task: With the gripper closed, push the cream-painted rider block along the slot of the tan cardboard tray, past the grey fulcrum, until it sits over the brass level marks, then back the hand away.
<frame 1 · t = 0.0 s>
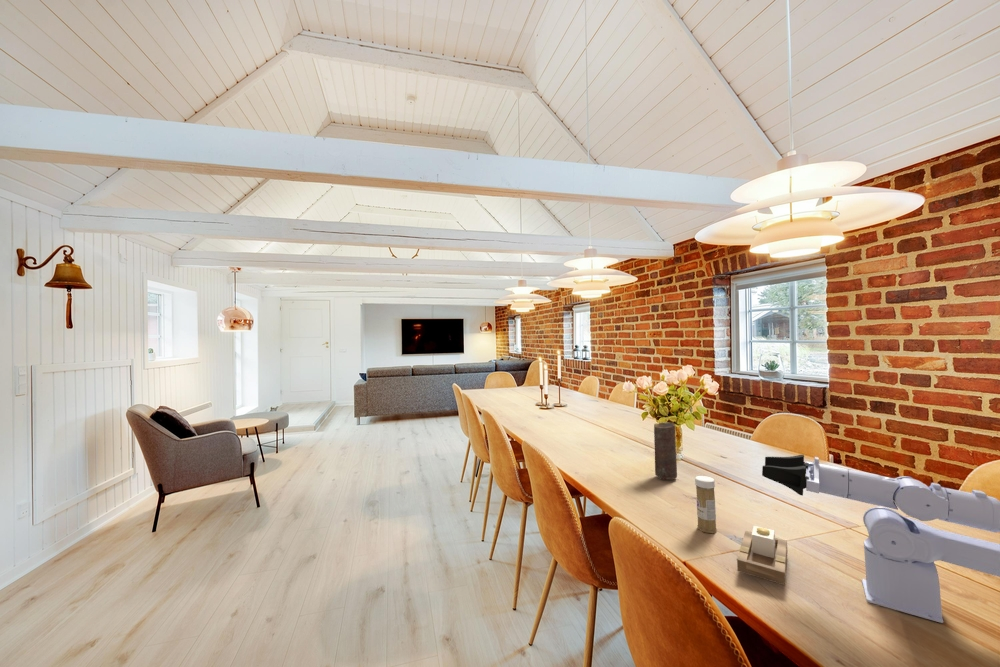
hand: (763, 465, 83), 22 cm above the table, tool horizontal, fingers open, 7 cm apart
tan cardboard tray: (763, 566, 82), on the table
candle: (666, 479, 137), on the table
sprinkles bottle: (707, 530, 99), on the table
rider: (763, 540, 85), point 5 cm above the table, slide at 0.0 cm
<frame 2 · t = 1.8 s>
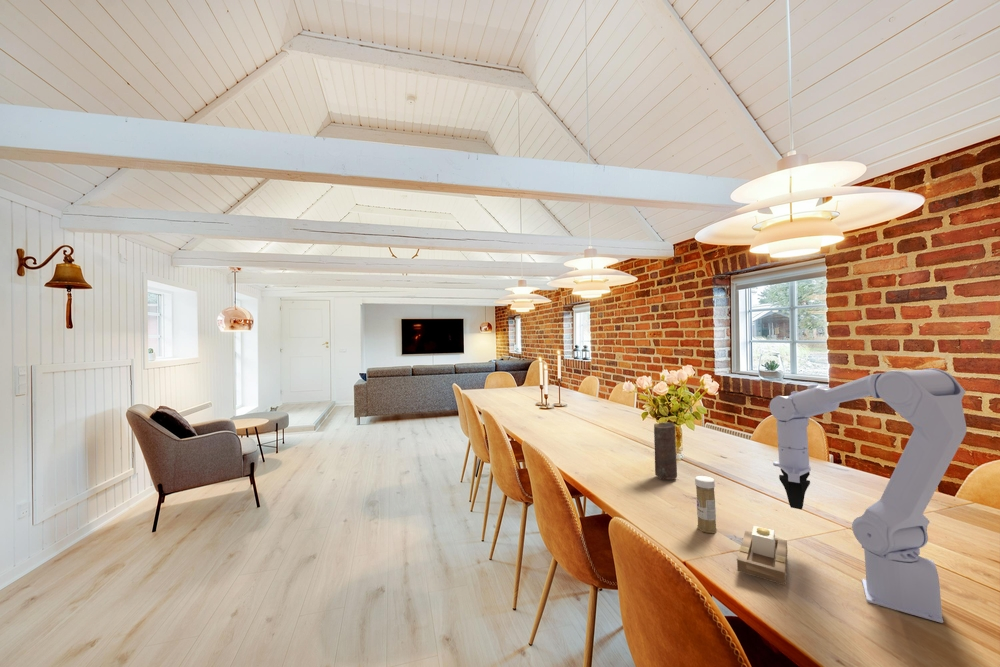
hand: (796, 503, 89), 10 cm above the table, tool pointing down, fingers open, 5 cm apart
nothing on the table moved.
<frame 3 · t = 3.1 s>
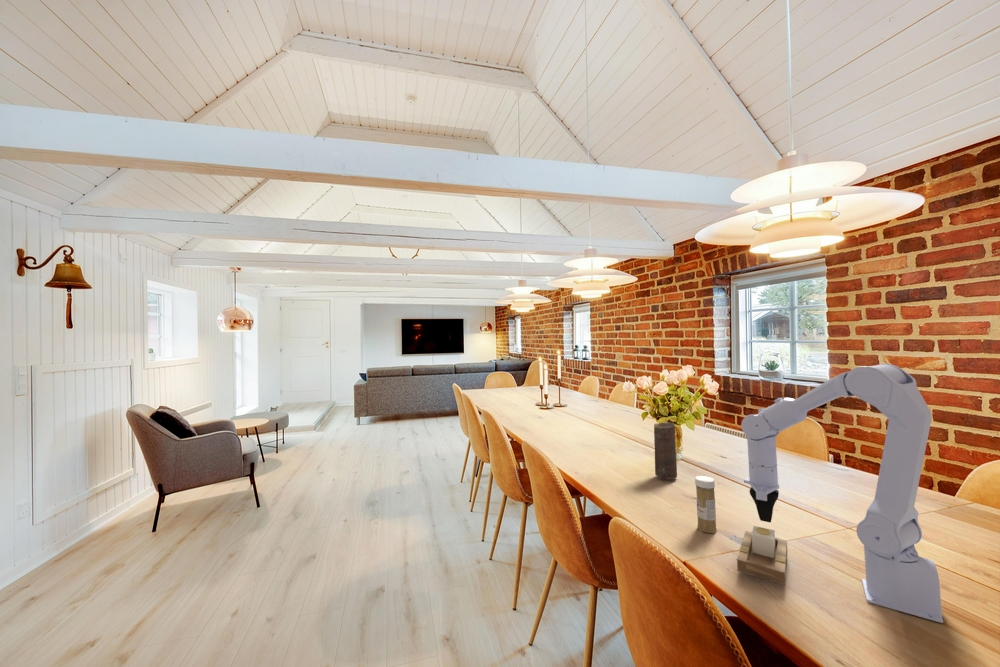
hand: (765, 520, 91), 6 cm above the table, tool pointing down, fingers closed
nothing on the table moved.
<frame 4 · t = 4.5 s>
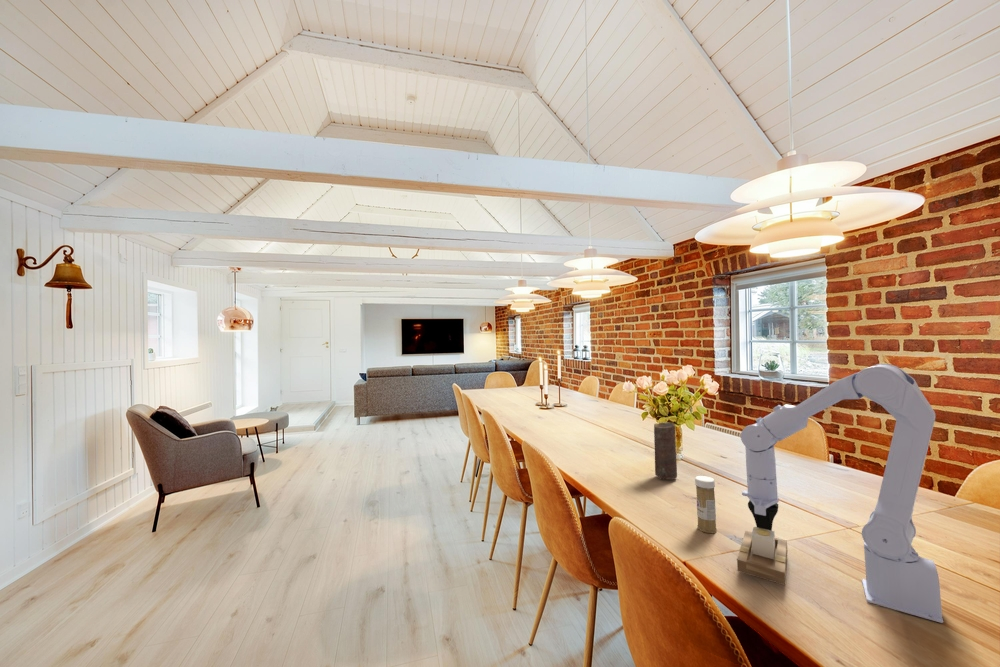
hand: (764, 535, 87), 4 cm above the table, tool pointing down, fingers closed
rider: (763, 541, 84), point 5 cm above the table, slide at 0.5 cm, touching gripper
everything else where it was.
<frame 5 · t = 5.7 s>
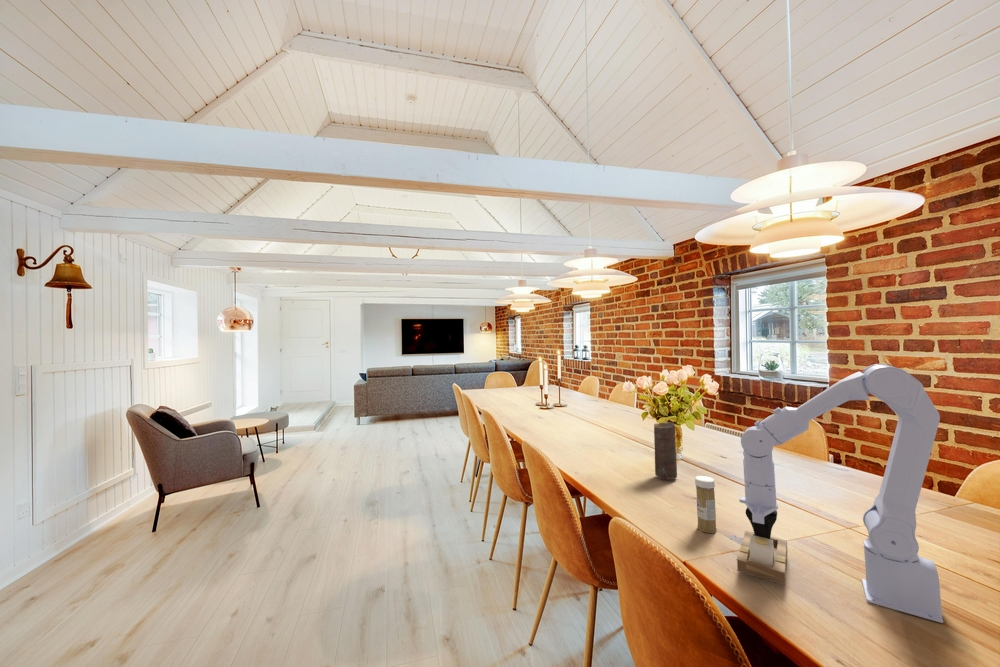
hand: (763, 543, 83), 4 cm above the table, tool pointing down, fingers closed
rider: (761, 550, 81), point 5 cm above the table, slide at 5.2 cm, touching gripper
everything else where it was.
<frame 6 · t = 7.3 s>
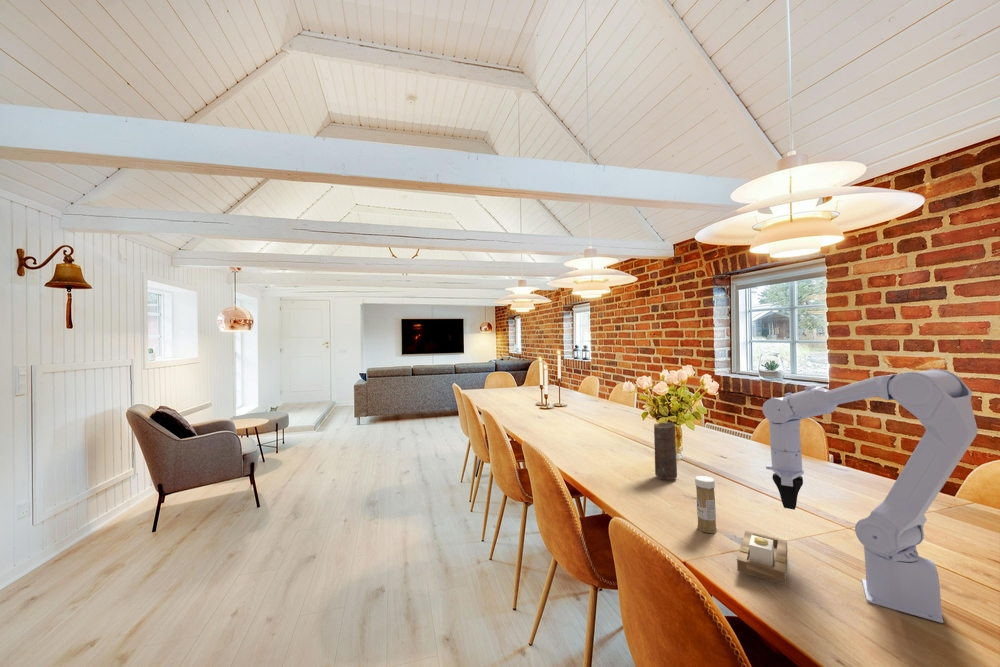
hand: (789, 507, 87), 10 cm above the table, tool pointing down, fingers closed
rider: (761, 550, 81), point 5 cm above the table, slide at 5.2 cm
everything else where it was.
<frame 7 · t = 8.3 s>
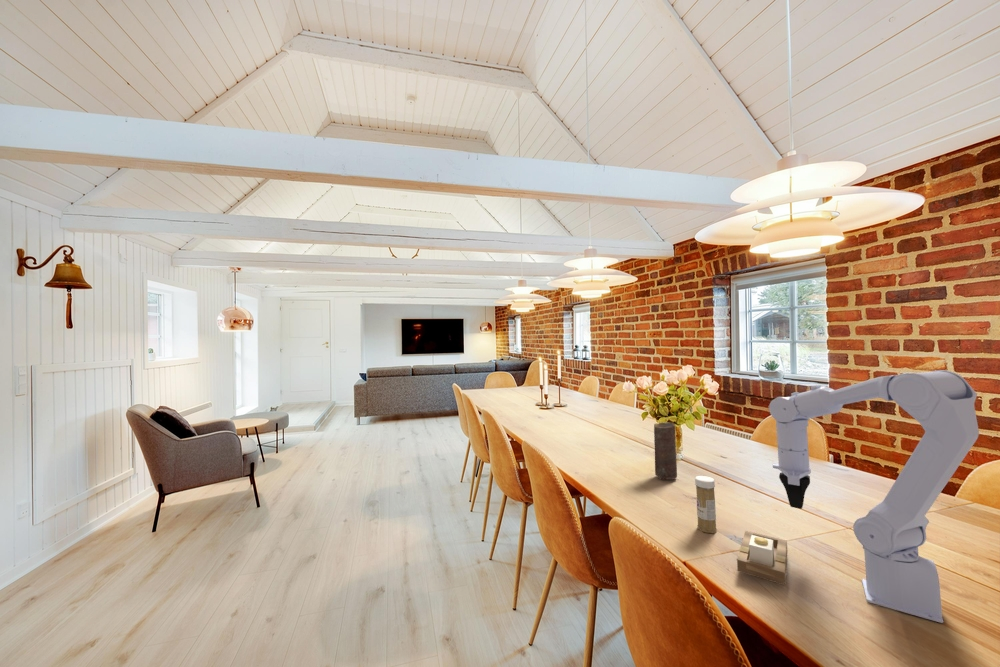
hand: (796, 506, 88), 10 cm above the table, tool pointing down, fingers closed
nothing on the table moved.
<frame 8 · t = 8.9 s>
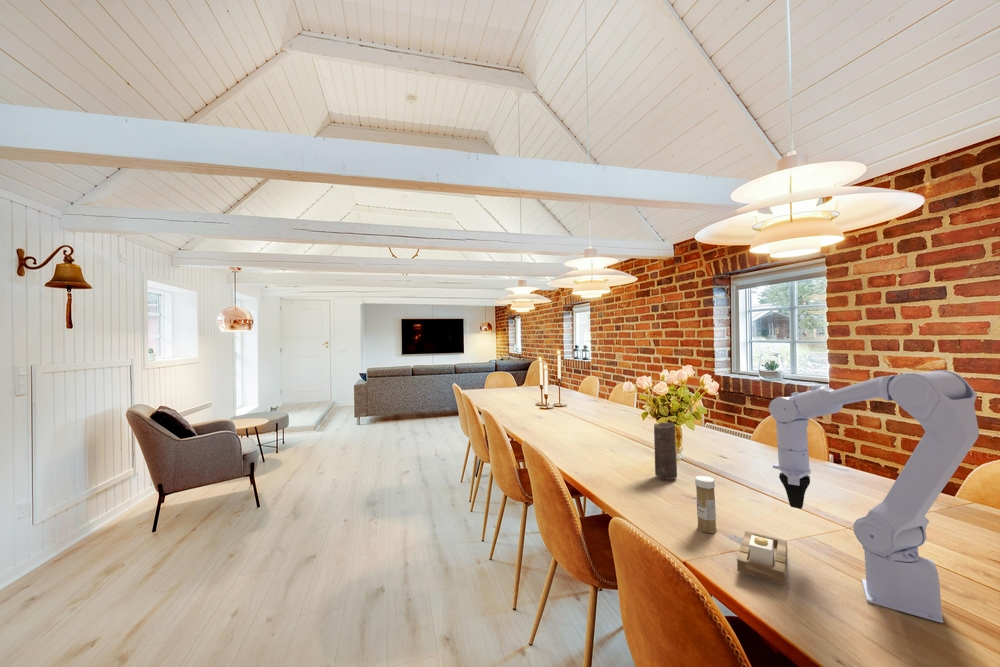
hand: (796, 506, 88), 10 cm above the table, tool pointing down, fingers closed
nothing on the table moved.
at the end: rider slide at 5.2 cm; rider moved 5.2 cm from its start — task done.
